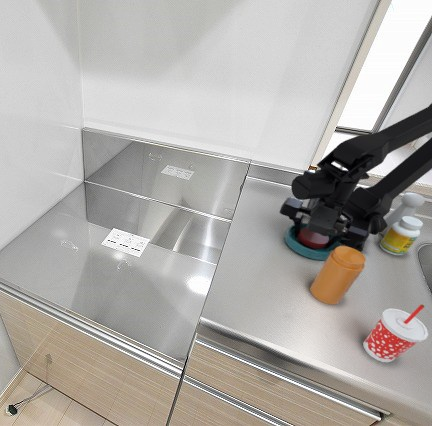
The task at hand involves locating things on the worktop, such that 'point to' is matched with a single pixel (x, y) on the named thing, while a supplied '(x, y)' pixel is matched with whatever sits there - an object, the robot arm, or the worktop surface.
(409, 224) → the supplement bottle
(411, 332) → the beverage cup
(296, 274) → the worktop surface
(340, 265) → the jar
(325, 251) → the dish
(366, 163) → the robot arm
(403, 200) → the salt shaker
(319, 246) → the lid
